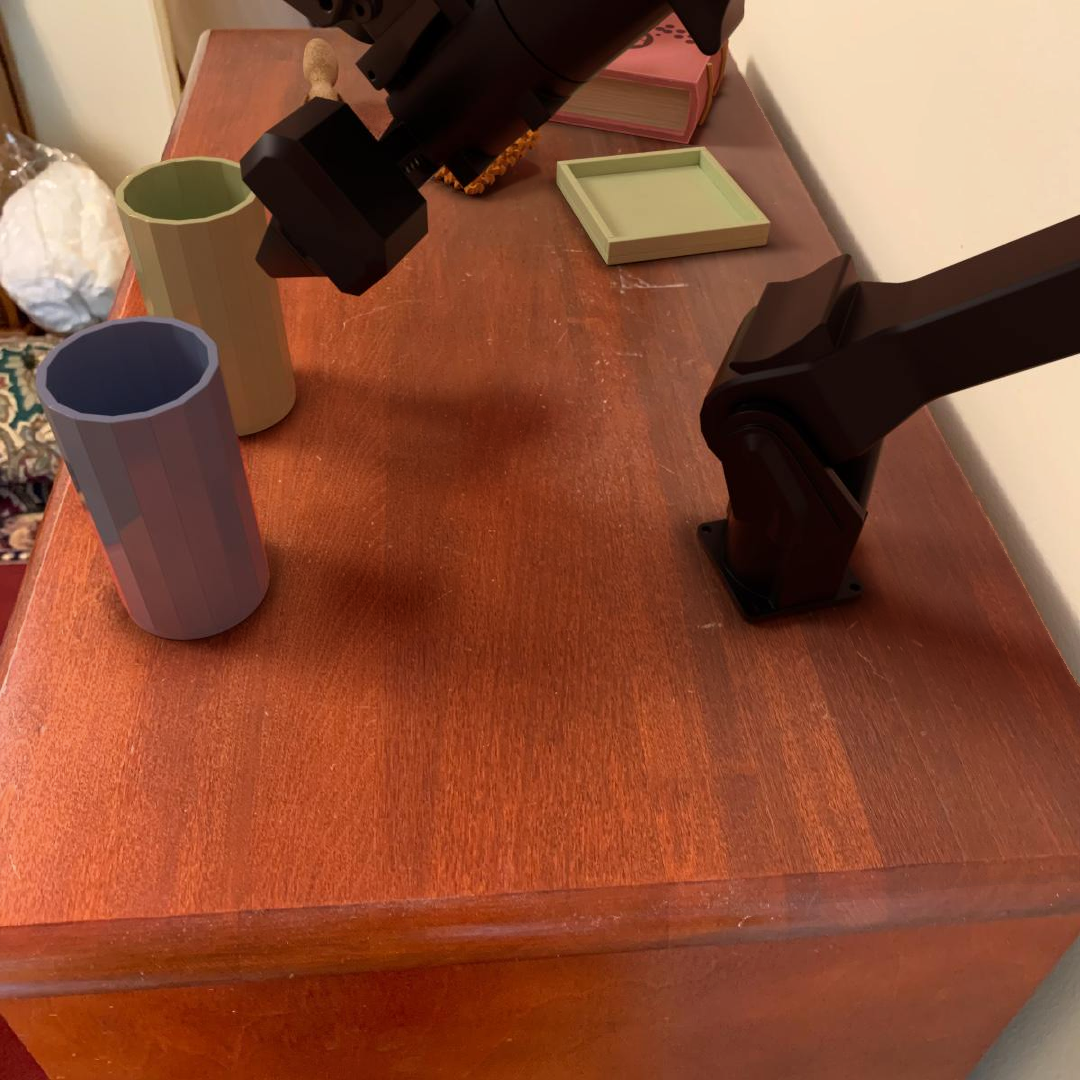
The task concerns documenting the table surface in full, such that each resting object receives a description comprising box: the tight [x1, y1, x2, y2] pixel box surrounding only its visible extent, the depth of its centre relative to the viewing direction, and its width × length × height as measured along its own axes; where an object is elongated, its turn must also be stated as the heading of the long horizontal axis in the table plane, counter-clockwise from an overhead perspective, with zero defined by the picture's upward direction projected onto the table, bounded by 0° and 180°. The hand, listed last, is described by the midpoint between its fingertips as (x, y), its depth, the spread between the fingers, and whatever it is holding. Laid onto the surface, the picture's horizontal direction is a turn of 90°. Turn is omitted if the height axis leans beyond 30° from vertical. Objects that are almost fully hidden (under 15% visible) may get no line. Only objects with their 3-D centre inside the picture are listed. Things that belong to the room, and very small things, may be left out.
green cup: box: [115, 155, 297, 437], centre depth 54 cm, size 7×7×13 cm
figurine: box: [301, 37, 347, 106], centre depth 81 cm, size 4×4×15 cm
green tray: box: [555, 146, 772, 266], centre depth 75 cm, size 12×12×2 cm
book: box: [548, 12, 730, 145], centre depth 88 cm, size 14×15×5 cm
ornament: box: [434, 127, 542, 195], centre depth 79 cm, size 7×10×15 cm
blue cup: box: [34, 315, 271, 641], centre depth 44 cm, size 7×7×13 cm
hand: (319, 220), depth 47 cm, fingers open, 9 cm apart
